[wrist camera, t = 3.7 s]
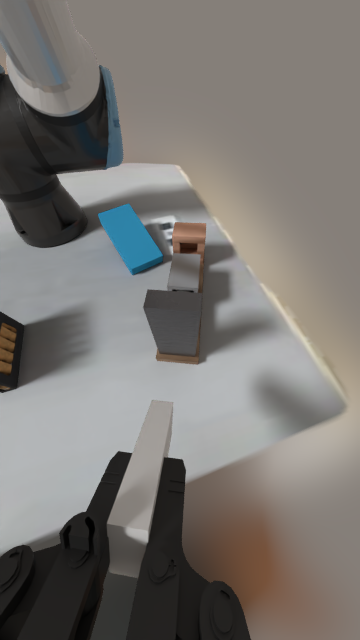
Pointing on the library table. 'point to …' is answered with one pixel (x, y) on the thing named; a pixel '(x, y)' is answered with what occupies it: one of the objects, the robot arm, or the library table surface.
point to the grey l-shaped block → (174, 320)
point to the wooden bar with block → (186, 271)
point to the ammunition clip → (10, 352)
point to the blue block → (130, 238)
